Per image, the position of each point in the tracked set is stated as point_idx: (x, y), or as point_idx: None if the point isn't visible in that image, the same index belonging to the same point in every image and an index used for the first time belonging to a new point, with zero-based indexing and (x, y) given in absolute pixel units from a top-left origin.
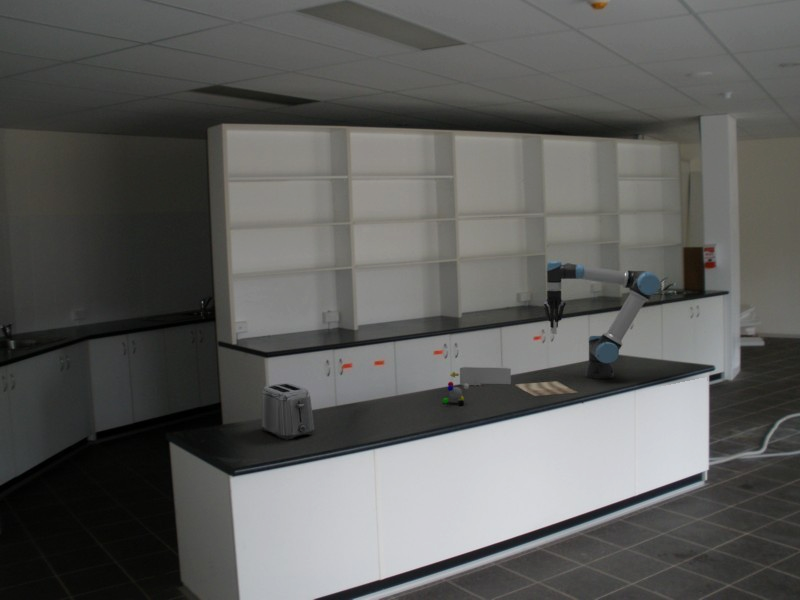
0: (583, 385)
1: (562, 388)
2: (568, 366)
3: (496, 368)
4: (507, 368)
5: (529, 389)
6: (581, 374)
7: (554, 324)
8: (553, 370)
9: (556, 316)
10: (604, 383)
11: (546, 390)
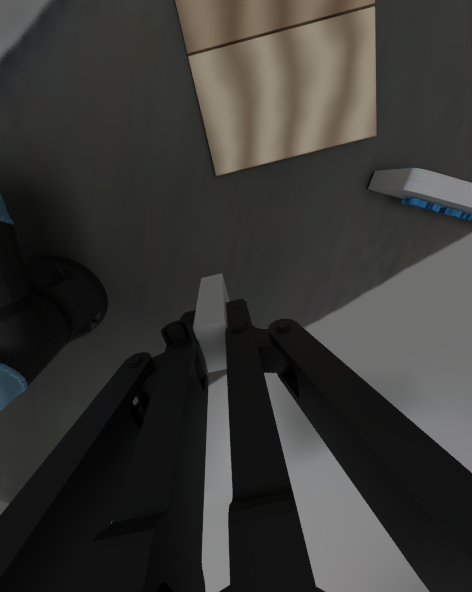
0: (125, 157)
1: (217, 52)
2: None
3: (464, 181)
4: (427, 170)
5: (350, 44)
6: (118, 326)
7: (217, 309)
8: None
9: (185, 378)
10: (46, 184)
11: (289, 15)
